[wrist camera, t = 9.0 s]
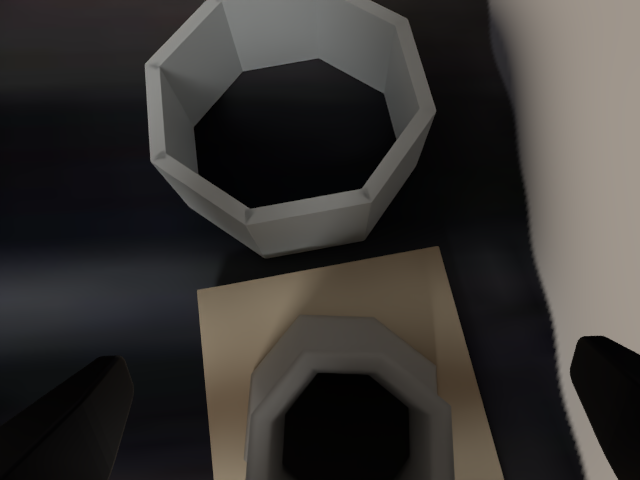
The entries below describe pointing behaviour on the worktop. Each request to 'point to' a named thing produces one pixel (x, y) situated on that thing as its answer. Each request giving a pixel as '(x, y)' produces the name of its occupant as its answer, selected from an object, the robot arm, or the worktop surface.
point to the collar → (271, 50)
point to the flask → (346, 407)
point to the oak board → (341, 300)
